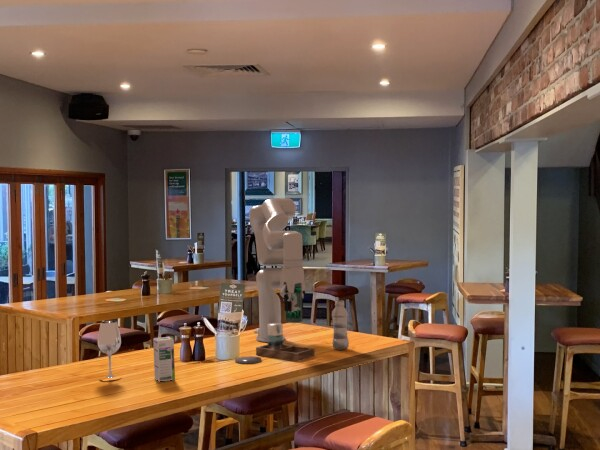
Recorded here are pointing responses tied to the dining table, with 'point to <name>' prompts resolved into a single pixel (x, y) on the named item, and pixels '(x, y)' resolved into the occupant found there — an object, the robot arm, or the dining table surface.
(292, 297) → the can
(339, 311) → the plastic bottle
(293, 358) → the brown wooden tray
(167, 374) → the syrup box
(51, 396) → the dining table surface
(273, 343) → the can
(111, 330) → the wineglass
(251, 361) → the slate coaster
